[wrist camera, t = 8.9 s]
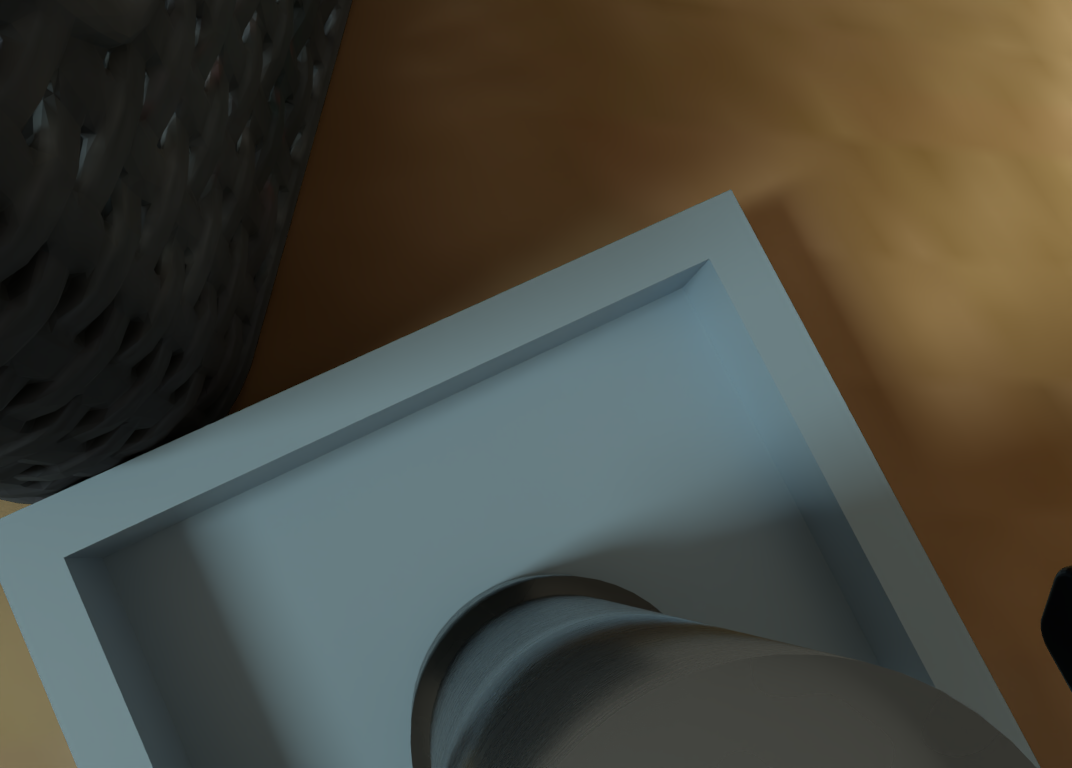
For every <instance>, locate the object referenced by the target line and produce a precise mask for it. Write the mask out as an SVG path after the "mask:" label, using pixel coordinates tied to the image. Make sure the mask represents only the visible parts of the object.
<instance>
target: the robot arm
mask: <svg viewBox="0 0 1072 768" xmlns="http://www.w3.org/2000/svg"><path fill="white" fill-rule="evenodd" d="M1041 632H1042V636H1043V639H1044V642H1045V644H1046V647H1047V648H1048V650H1049V652H1050V654H1051V656H1052V657H1053V659H1054V661H1055V663H1056V665H1057V666H1058V668H1059V670H1060V672H1061V674H1062V676H1063V677H1064V679H1065V681H1066V683H1067V685H1068V686H1069V688H1070V690H1071V692H1072V566H1068V567H1064V568H1062V569H1061V570H1060V571H1059V572H1058V573H1057V575H1056V577H1055V579H1054V582H1053V585H1052V588H1051V591H1050V594H1049V597H1048V600H1047V603H1046V606H1045V609H1044V612H1043V615H1042V618H1041Z"/></svg>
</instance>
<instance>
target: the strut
mask: <svg viewBox="0 0 1072 768" xmlns="http://www.w3.org/2000/svg"><path fill="white" fill-rule="evenodd" d="M410 744H411V756H412V766H413V768H1036V767H1035V765H1034V764H1033V763H1032V762H1031V761H1030V760H1029V759H1028V758H1027V757H1026V756H1025V755H1024V754H1023V753H1022V752H1021V751H1020V750H1019V749H1018V748H1017V747H1016V746H1015V744H1014V743H1013V742H1012V741H1011V740H1009V739H1008V738H1007V737H1006V736H1005V735H1003V734H1002V733H1001V732H1000V731H998V730H997V729H996V728H995V727H994V726H992V725H991V724H990V723H989V722H987V721H986V720H985V719H984V718H983V717H981V716H980V715H979V714H978V713H976V712H975V711H973V710H971V709H970V708H968V707H967V706H965V705H963V704H962V703H960V702H959V701H957V700H955V699H954V698H952V697H951V696H949V695H947V694H946V693H944V692H943V691H941V690H939V689H937V688H934V687H932V686H930V685H928V684H926V683H923V682H921V681H919V680H917V679H915V678H912V677H910V676H908V675H906V674H903V673H901V672H897V671H894V670H891V669H887V668H884V667H881V666H877V665H874V664H870V663H867V662H864V661H860V660H856V659H852V658H847V657H843V656H839V655H835V654H830V653H826V652H822V651H818V650H814V649H809V648H805V647H801V646H797V645H792V644H788V643H784V642H780V641H776V640H771V639H767V638H763V637H759V636H755V635H750V634H746V633H742V632H738V631H733V630H729V629H725V628H721V627H717V626H712V625H708V624H704V623H700V622H695V621H691V620H687V619H683V618H679V617H674V616H670V615H666V614H663V613H662V612H660V611H659V610H658V609H657V608H655V607H654V606H653V605H652V604H651V603H649V602H647V601H646V600H644V599H643V598H641V597H639V596H638V595H636V594H635V593H633V592H631V591H628V590H626V589H624V588H622V587H619V586H617V585H614V584H611V583H608V582H604V581H601V580H598V579H592V578H585V577H579V576H571V575H564V574H537V575H528V576H523V577H519V578H515V579H511V580H508V581H505V582H503V583H500V584H498V585H495V586H493V587H491V588H489V589H487V590H486V591H484V592H482V593H480V594H479V595H477V596H475V597H474V598H473V599H471V600H470V601H469V602H467V603H466V604H465V605H463V606H462V607H461V608H460V609H459V610H458V611H457V612H456V613H455V614H454V615H453V616H452V617H451V618H450V619H449V620H448V621H447V623H446V624H445V625H444V626H443V628H442V629H441V630H440V631H439V633H438V634H437V636H436V637H435V639H434V641H433V642H432V644H431V645H430V647H429V649H428V651H427V653H426V655H425V657H424V660H423V662H422V664H421V666H420V670H419V673H418V676H417V680H416V683H415V687H414V693H413V699H412V709H411V742H410Z"/></svg>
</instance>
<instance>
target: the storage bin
mask: <svg viewBox="0 0 1072 768" xmlns="http://www.w3.org/2000/svg"><path fill="white" fill-rule="evenodd" d="M351 3H352V0H0V499H1V500H6V501H10V502H15V503H21V504H34V503H36V502H39V501H41V500H43V499H45V498H47V497H50V496H52V495H54V494H56V493H58V492H61V491H63V490H65V489H67V488H70V487H72V486H74V485H76V484H78V483H81V482H83V481H85V480H87V479H90V478H92V477H94V476H96V475H98V474H101V473H103V472H105V471H107V470H110V469H112V468H114V467H116V466H118V465H121V464H123V463H125V462H127V461H129V460H132V459H134V458H136V457H138V456H141V455H143V454H145V453H147V452H149V451H152V450H154V449H156V448H158V447H161V446H163V445H165V444H167V443H169V442H172V441H174V440H176V439H178V438H180V437H183V436H185V435H187V434H189V433H192V432H194V431H196V430H198V429H200V428H203V427H205V426H207V425H209V424H212V423H214V422H216V421H218V420H220V419H223V418H224V417H225V416H226V415H227V413H228V412H229V410H230V408H231V407H232V405H233V403H234V402H235V400H236V398H237V397H238V395H239V393H240V390H241V388H242V386H243V384H244V381H245V379H246V377H247V374H248V372H249V370H250V367H251V363H252V360H253V356H254V353H255V349H256V345H257V342H258V338H259V335H260V331H261V328H262V324H263V320H264V317H265V313H266V310H267V306H268V303H269V299H270V295H271V292H272V288H273V285H274V281H275V277H276V274H277V270H278V267H279V263H280V260H281V256H282V252H283V249H284V245H285V242H286V238H287V234H288V231H289V227H290V224H291V220H292V216H293V213H294V209H295V206H296V202H297V198H298V195H299V191H300V187H301V184H302V180H303V177H304V173H305V169H306V166H307V162H308V159H309V155H310V151H311V148H312V144H313V140H314V137H315V133H316V130H317V126H318V122H319V119H320V115H321V112H322V108H323V104H324V101H325V97H326V93H327V90H328V86H329V83H330V79H331V75H332V72H333V68H334V65H335V61H336V57H337V54H338V50H339V46H340V43H341V39H342V36H343V32H344V28H345V25H346V21H347V18H348V14H349V10H350V7H351Z"/></svg>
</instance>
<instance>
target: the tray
mask: <svg viewBox="0 0 1072 768" xmlns="http://www.w3.org/2000/svg"><path fill="white" fill-rule="evenodd" d="M537 574H564V575H571V576H579V577H585V578H592V579H598V580H601V581H604V582H608V583H611V584H614V585H617V586H619V587H622V588H624V589H626V590H628V591H631V592H633V593H635V594H636V595H638V596H639V597H641V598H643V599H644V600H646V601H647V602H649V603H651V604H652V605H653V606H654V607H655V608H657V609H658V610H659V611H660V612H662V613H663V614H666V615H670V616H674V617H679V618H683V619H687V620H691V621H695V622H700V623H704V624H708V625H712V626H717V627H721V628H725V629H729V630H733V631H738V632H742V633H746V634H750V635H755V636H759V637H763V638H767V639H771V640H776V641H780V642H784V643H788V644H792V645H797V646H801V647H805V648H809V649H814V650H818V651H822V652H826V653H830V654H835V655H839V656H843V657H847V658H852V659H856V660H860V661H864V662H867V663H870V664H874V665H877V666H881V667H884V668H887V669H891V670H894V671H897V672H901V673H903V674H906V675H908V676H910V677H912V678H915V679H917V680H919V681H921V682H923V683H926V684H928V685H930V686H932V687H934V688H937V689H939V690H941V691H943V692H944V693H946V694H947V695H949V696H951V697H952V698H954V699H955V700H957V701H959V702H960V703H962V704H963V705H965V706H967V707H968V708H970V709H971V710H973V711H975V712H976V713H978V714H979V715H980V716H981V717H983V718H984V719H985V720H986V721H987V722H989V723H990V724H991V725H992V726H994V727H995V728H996V729H997V730H998V731H1000V732H1001V733H1002V734H1003V735H1005V736H1006V737H1007V738H1008V739H1009V740H1011V741H1012V742H1013V743H1014V744H1015V746H1016V747H1017V748H1018V749H1019V750H1020V751H1021V752H1022V753H1023V754H1024V755H1025V756H1026V757H1027V758H1028V759H1029V760H1030V761H1031V762H1032V763H1033V764H1034V765H1035V767H1036V768H1041V767H1040V765H1039V763H1038V762H1037V760H1036V758H1035V756H1034V754H1033V752H1032V750H1031V749H1030V747H1029V745H1028V743H1027V741H1026V739H1025V737H1024V735H1023V734H1022V732H1021V730H1020V728H1019V726H1018V724H1017V722H1016V721H1015V719H1014V717H1013V715H1012V713H1011V711H1010V709H1009V707H1008V706H1007V704H1006V702H1005V700H1004V698H1003V696H1002V694H1001V693H1000V691H999V689H998V687H997V685H996V683H995V681H994V679H993V678H992V676H991V674H990V672H989V670H988V668H987V666H986V665H985V663H984V661H983V659H982V657H981V655H980V653H979V651H978V650H977V648H976V646H975V644H974V642H973V640H972V638H971V637H970V635H969V633H968V631H967V629H966V627H965V625H964V623H963V622H962V620H961V618H960V616H959V614H958V612H957V610H956V608H955V607H954V605H953V603H952V601H951V599H950V597H949V595H948V594H947V592H946V590H945V588H944V586H943V584H942V582H941V580H940V579H939V577H938V575H937V573H936V571H935V569H934V567H933V566H932V564H931V562H930V560H929V558H928V556H927V554H926V552H925V551H924V549H923V547H922V545H921V543H920V541H919V539H918V538H917V536H916V534H915V532H914V530H913V528H912V526H911V524H910V523H909V521H908V519H907V517H906V515H905V513H904V511H903V510H902V508H901V506H900V504H899V502H898V500H897V498H896V496H895V495H894V493H893V491H892V489H891V487H890V485H889V483H888V482H887V480H886V478H885V476H884V474H883V472H882V470H881V468H880V467H879V465H878V463H877V461H876V459H875V457H874V455H873V454H872V452H871V450H870V448H869V446H868V444H867V442H866V440H865V439H864V437H863V435H862V433H861V431H860V429H859V427H858V426H857V424H856V422H855V420H854V418H853V416H852V414H851V412H850V411H849V409H848V407H847V405H846V403H845V401H844V399H843V397H842V396H841V394H840V392H839V390H838V388H837V386H836V384H835V383H834V381H833V379H832V377H831V375H830V373H829V371H828V369H827V368H826V366H825V364H824V362H823V360H822V358H821V356H820V355H819V353H818V351H817V349H816V347H815V345H814V343H813V341H812V340H811V338H810V336H809V334H808V332H807V330H806V328H805V327H804V325H803V323H802V321H801V319H800V317H799V315H798V313H797V312H796V310H795V308H794V306H793V304H792V302H791V300H790V299H789V297H788V295H787V293H786V291H785V289H784V287H783V285H782V284H781V282H780V280H779V278H778V276H777V274H776V272H775V271H774V269H773V267H772V265H771V263H770V261H769V259H768V257H767V256H766V254H765V252H764V250H763V248H762V246H761V244H760V243H759V241H758V239H757V237H756V235H755V233H754V231H753V229H752V228H751V226H750V224H749V222H748V220H747V218H746V216H745V215H744V213H743V211H742V209H741V207H740V205H739V203H738V201H737V200H736V198H735V196H734V194H733V192H732V190H728V191H726V192H724V193H722V194H720V195H717V196H715V197H713V198H711V199H708V200H706V201H704V202H702V203H700V204H697V205H695V206H693V207H691V208H689V209H686V210H684V211H682V212H680V213H677V214H675V215H673V216H671V217H669V218H666V219H664V220H662V221H660V222H657V223H655V224H653V225H651V226H649V227H646V228H644V229H642V230H640V231H637V232H635V233H633V234H631V235H629V236H626V237H624V238H622V239H620V240H618V241H615V242H613V243H611V244H609V245H606V246H604V247H602V248H600V249H598V250H595V251H593V252H591V253H589V254H586V255H584V256H582V257H580V258H578V259H575V260H573V261H571V262H569V263H566V264H564V265H562V266H560V267H558V268H555V269H553V270H551V271H549V272H547V273H544V274H542V275H540V276H538V277H535V278H533V279H531V280H529V281H527V282H524V283H522V284H520V285H518V286H515V287H513V288H511V289H509V290H507V291H504V292H502V293H500V294H498V295H496V296H493V297H491V298H489V299H487V300H484V301H482V302H480V303H478V304H476V305H473V306H471V307H469V308H467V309H464V310H462V311H460V312H458V313H456V314H453V315H451V316H449V317H447V318H444V319H442V320H440V321H438V322H436V323H433V324H431V325H429V326H427V327H425V328H422V329H420V330H418V331H416V332H413V333H411V334H409V335H407V336H405V337H402V338H400V339H398V340H396V341H393V342H391V343H389V344H387V345H385V346H382V347H380V348H378V349H376V350H373V351H371V352H369V353H367V354H365V355H362V356H360V357H358V358H356V359H354V360H351V361H349V362H347V363H345V364H342V365H340V366H338V367H336V368H334V369H331V370H329V371H327V372H325V373H322V374H320V375H318V376H316V377H314V378H311V379H309V380H307V381H305V382H303V383H300V384H298V385H296V386H294V387H291V388H289V389H287V390H285V391H283V392H280V393H278V394H276V395H274V396H271V397H269V398H267V399H265V400H263V401H260V402H258V403H256V404H254V405H251V406H249V407H247V408H245V409H243V410H240V411H238V412H236V413H234V414H232V415H229V416H227V417H225V418H223V419H220V420H218V421H216V422H214V423H212V424H209V425H207V426H205V427H203V428H200V429H198V430H196V431H194V432H192V433H189V434H187V435H185V436H183V437H180V438H178V439H176V440H174V441H172V442H169V443H167V444H165V445H163V446H161V447H158V448H156V449H154V450H152V451H149V452H147V453H145V454H143V455H141V456H138V457H136V458H134V459H132V460H129V461H127V462H125V463H123V464H121V465H118V466H116V467H114V468H112V469H110V470H107V471H105V472H103V473H101V474H98V475H96V476H94V477H92V478H90V479H87V480H85V481H83V482H81V483H78V484H76V485H74V486H72V487H70V488H67V489H65V490H63V491H61V492H58V493H56V494H54V495H52V496H50V497H47V498H45V499H43V500H41V501H39V502H36V503H34V504H32V505H30V506H27V507H25V508H23V509H21V510H19V511H16V512H14V513H12V514H10V515H7V516H5V517H3V518H1V519H0V583H1V585H2V587H3V590H4V592H5V595H6V597H7V599H8V602H9V604H10V607H11V609H12V611H13V614H14V616H15V619H16V621H17V623H18V626H19V628H20V631H21V633H22V635H23V638H24V640H25V643H26V645H27V647H28V650H29V652H30V655H31V657H32V659H33V662H34V664H35V667H36V669H37V672H38V674H39V676H40V679H41V681H42V684H43V686H44V688H45V691H46V693H47V696H48V698H49V700H50V703H51V705H52V708H53V710H54V712H55V715H56V717H57V720H58V722H59V724H60V727H61V729H62V732H63V734H64V736H65V739H66V741H67V744H68V746H69V748H70V751H71V753H72V756H73V758H74V760H75V763H76V765H77V768H413V766H412V756H411V744H410V742H411V709H412V699H413V693H414V687H415V683H416V680H417V676H418V673H419V670H420V666H421V664H422V662H423V660H424V657H425V655H426V653H427V651H428V649H429V647H430V645H431V644H432V642H433V641H434V639H435V637H436V636H437V634H438V633H439V631H440V630H441V629H442V628H443V626H444V625H445V624H446V623H447V621H448V620H449V619H450V618H451V617H452V616H453V615H454V614H455V613H456V612H457V611H458V610H459V609H460V608H461V607H462V606H463V605H465V604H466V603H467V602H469V601H470V600H471V599H473V598H474V597H475V596H477V595H479V594H480V593H482V592H484V591H486V590H487V589H489V588H491V587H493V586H495V585H498V584H500V583H503V582H505V581H508V580H511V579H515V578H519V577H523V576H528V575H537Z"/></svg>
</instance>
